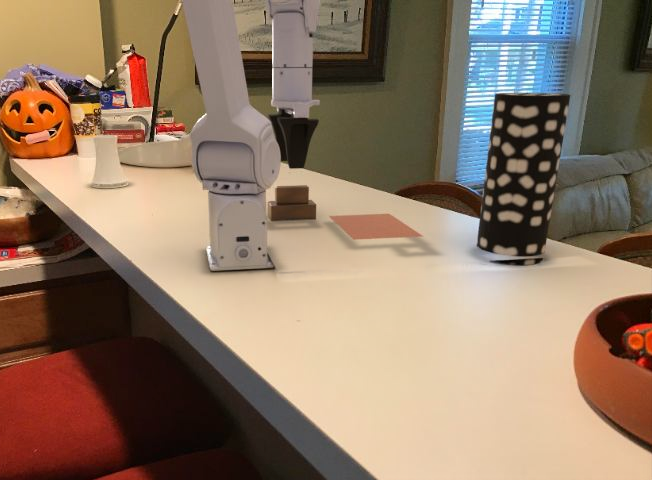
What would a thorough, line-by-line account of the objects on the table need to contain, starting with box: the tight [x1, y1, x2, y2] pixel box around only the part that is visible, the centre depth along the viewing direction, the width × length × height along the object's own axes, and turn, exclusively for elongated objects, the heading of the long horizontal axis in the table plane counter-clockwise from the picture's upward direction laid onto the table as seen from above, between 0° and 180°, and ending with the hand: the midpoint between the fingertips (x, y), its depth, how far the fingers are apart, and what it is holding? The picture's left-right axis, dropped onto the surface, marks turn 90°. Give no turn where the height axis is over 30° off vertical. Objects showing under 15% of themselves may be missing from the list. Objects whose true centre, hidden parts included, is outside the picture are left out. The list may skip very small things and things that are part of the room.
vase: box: [90, 134, 129, 189], centre depth 126 cm, size 8×8×10 cm
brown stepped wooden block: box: [267, 184, 317, 222], centre depth 94 cm, size 7×4×6 cm, turn 99°
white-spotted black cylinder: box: [476, 92, 571, 266], centre depth 76 cm, size 8×8×20 cm
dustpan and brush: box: [117, 133, 192, 169], centre depth 150 cm, size 23×33×10 cm
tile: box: [328, 213, 423, 241], centre depth 90 cm, size 14×10×1 cm
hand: (291, 164), depth 92 cm, fingers open, 7 cm apart
